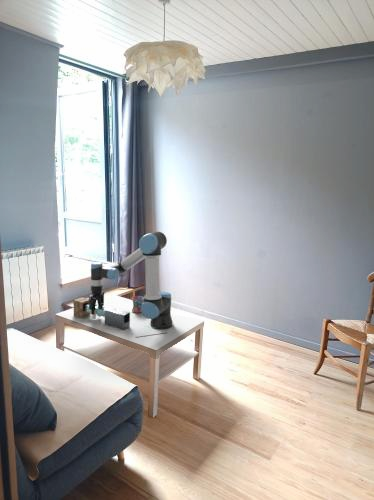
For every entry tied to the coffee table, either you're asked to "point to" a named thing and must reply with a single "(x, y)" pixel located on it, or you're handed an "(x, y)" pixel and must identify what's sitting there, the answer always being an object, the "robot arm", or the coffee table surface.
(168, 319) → the robot arm
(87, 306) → the teal square bar
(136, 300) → the mug
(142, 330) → the coffee table surface
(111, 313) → the sleeve
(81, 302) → the socket
